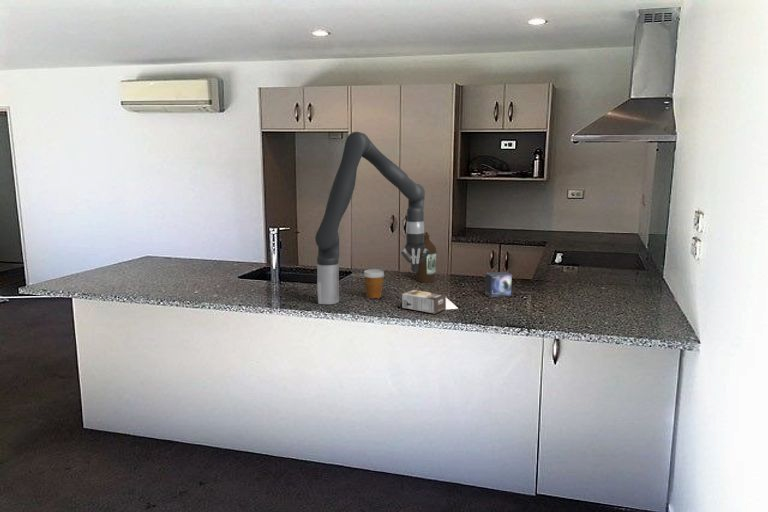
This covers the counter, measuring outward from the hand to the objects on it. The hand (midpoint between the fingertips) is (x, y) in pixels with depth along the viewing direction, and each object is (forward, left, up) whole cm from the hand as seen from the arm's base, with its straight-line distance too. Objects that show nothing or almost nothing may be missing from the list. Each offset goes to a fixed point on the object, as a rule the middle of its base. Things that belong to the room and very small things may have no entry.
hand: (414, 272), depth 248 cm
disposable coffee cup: (-15, +17, -15) cm, 27 cm away
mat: (+8, 0, -14) cm, 17 cm away
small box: (+41, +9, -15) cm, 45 cm away
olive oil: (+16, +45, -15) cm, 50 cm away
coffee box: (-4, -2, -11) cm, 12 cm away
